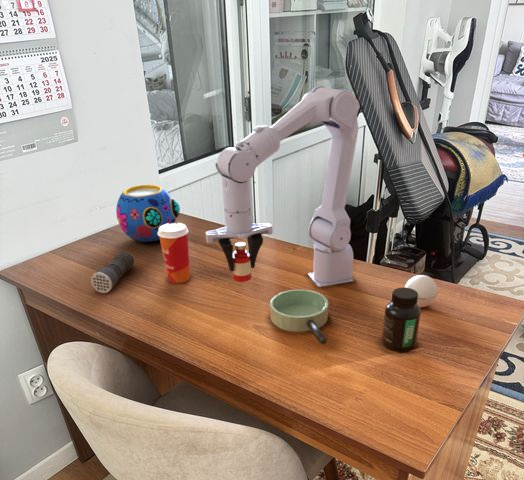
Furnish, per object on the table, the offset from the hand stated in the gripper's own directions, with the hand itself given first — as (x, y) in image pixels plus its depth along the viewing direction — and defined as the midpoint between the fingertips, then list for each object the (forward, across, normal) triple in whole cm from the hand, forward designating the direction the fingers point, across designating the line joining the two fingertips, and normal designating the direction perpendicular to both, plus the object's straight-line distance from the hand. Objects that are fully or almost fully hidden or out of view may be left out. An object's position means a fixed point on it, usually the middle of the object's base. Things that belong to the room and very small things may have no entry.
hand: (241, 267), depth 117 cm
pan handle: (+8, +10, -20) cm, 24 cm away
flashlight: (+10, -28, +25) cm, 39 cm away
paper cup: (+10, -12, +20) cm, 26 cm away
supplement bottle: (+10, +26, -27) cm, 39 cm away
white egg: (+10, +39, -15) cm, 43 cm away
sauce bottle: (+2, 0, 0) cm, 2 cm away
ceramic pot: (+10, -16, +51) cm, 55 cm away
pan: (+10, +10, -10) cm, 17 cm away
